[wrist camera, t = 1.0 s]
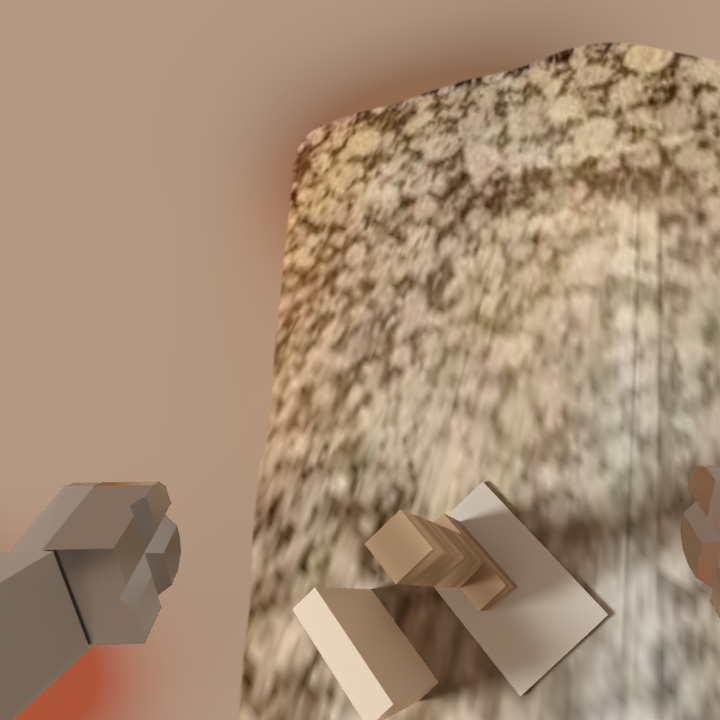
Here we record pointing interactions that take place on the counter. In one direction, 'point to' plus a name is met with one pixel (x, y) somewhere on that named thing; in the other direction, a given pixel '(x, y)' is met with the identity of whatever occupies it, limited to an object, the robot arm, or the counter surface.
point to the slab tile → (365, 650)
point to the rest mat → (521, 596)
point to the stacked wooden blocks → (439, 558)
